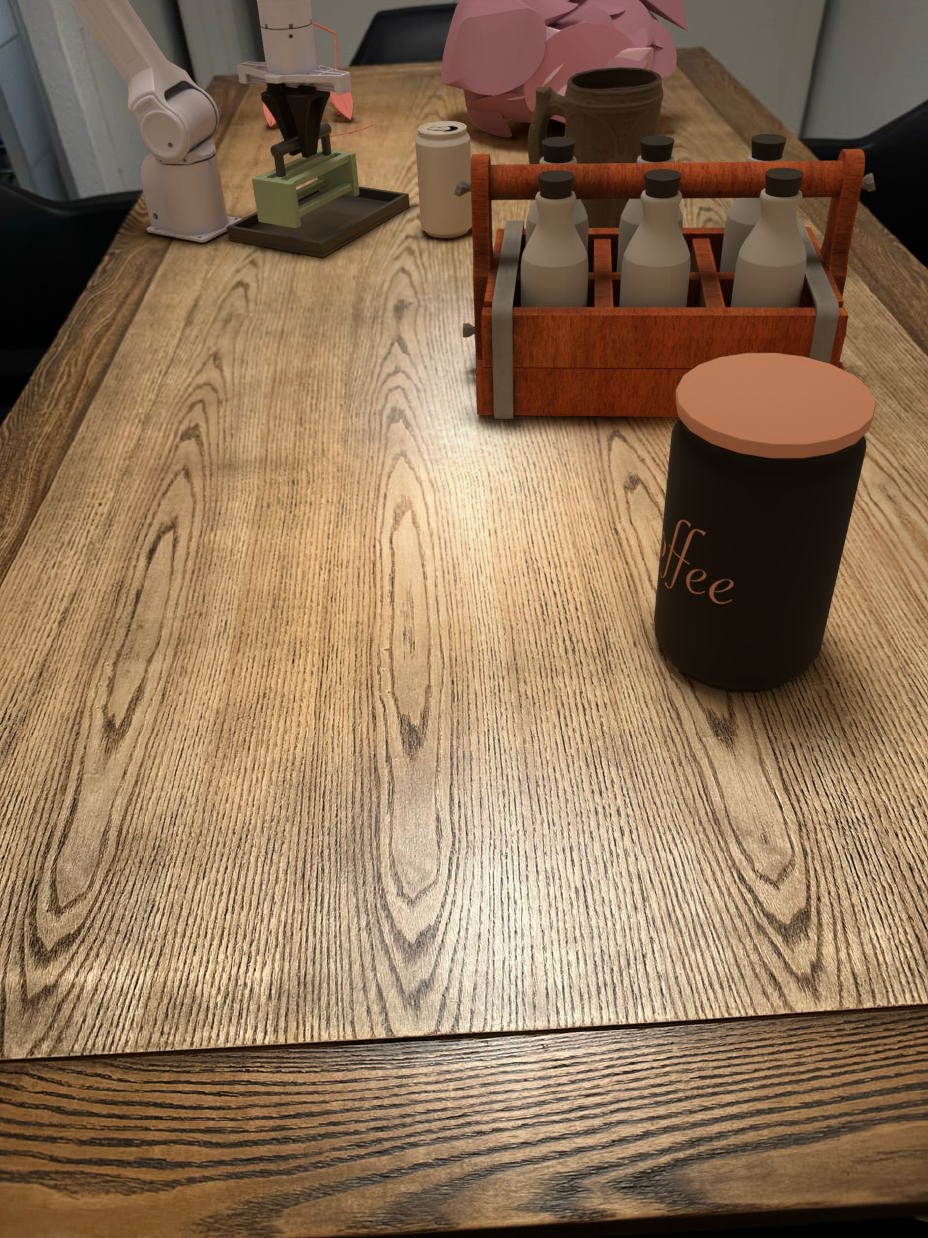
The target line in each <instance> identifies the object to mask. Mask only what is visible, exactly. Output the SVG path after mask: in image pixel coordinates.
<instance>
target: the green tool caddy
mask: <svg viewBox="0 0 928 1238" xmlns="http://www.w3.org/2000/svg"><path fill="white" fill-rule="evenodd" d="M331 134H332V126H331V125H330V124H329V122H323V123H321V125H320V131H319V139H318V141H319V140H320V143H321V147H318V149H317V154H315V155H313V156H311V157H309V158H304V157H302V156H300V157H298V158H297V157H296V158H295V159H293V160H291V161H289V162H286V163H285V159H284V158H285V157H284V156H286V155H289V153H290V152H292V151H295V150H297V149H299V148H300V145H299V139H298V135H295V136H293V137H291V138H289V139H286V140H284V139H283V140H282V141H280V142H277V143H275V144H273V145H271V146H270V154H271V156H272V157H273V160H274V169H272V170H269V171H267V172H265V173H263V174H260V175H255V176H253V177H252V178H251V182H252V190H253V194H254V195H253V196H254V200H255V201H254V202H255V208H256V212H257V214H258V221H259V222H263V223H269V224H274V225H280V226H286V227H291V228H298V227H300V226H301V221H300V217H302V216H304V215H306V214H307V213H309V212H311V211H313V210H315V209H317V208H319V207H321V206H323V205H325V204H327V203H328V202H330V201H332V200H334V199H336V198H338V197H340V196H342V195H346V196H353V197H356V196H358V195H359V186H360V185H359V177H358V176H359V175H358V164H357V156H356V155H357V154H356V152H353V151H346V150H338V149H332V145H331V144H332V143H331V137H330V136H331ZM316 178H317V179H316ZM314 179H315V180H314ZM312 180H313V181H312ZM310 181H311V182H310ZM308 182H309V183H308ZM306 183H308V184H306ZM304 184H306V185H304ZM302 185H304V186H302ZM300 186H301V187H300ZM298 187H299V188H298ZM297 188H298V189H297ZM317 190H319V191H321V192H326V193H325V194H323V195H321V196H319V197H317V198H315V199H313V200H311V201H309V202H307V203H305V204H303V205H301V206H298V200H299V199H301V198H303V197H305V196H307V195H309V194H311V193H313V192H315V191H317Z"/></svg>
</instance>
